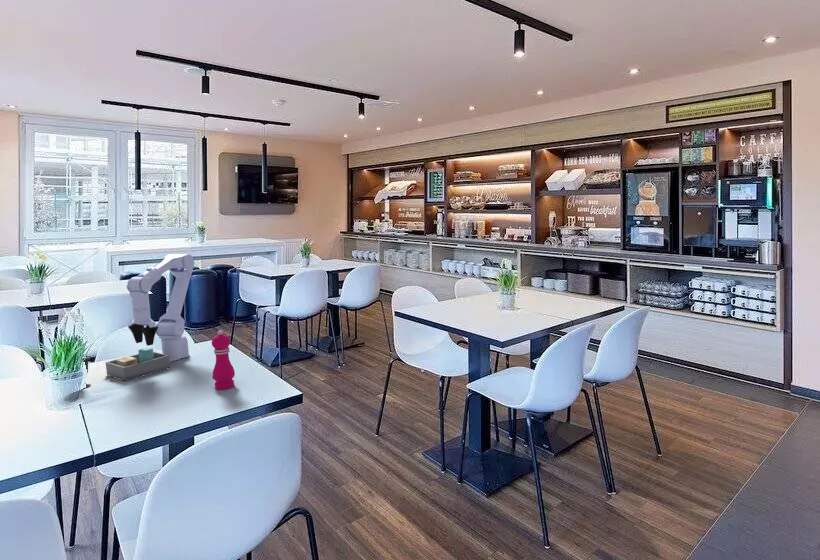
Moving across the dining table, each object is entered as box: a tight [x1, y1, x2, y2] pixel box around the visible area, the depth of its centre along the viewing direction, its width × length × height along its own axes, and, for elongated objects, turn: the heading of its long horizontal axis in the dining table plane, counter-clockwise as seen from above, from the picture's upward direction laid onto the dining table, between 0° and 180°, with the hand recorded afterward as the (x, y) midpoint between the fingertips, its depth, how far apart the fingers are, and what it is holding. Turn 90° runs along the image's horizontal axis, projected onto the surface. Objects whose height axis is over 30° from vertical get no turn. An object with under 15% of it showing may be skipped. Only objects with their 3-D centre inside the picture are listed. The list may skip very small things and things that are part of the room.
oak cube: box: [117, 356, 138, 367], centre depth 191 cm, size 5×5×5 cm
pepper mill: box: [211, 329, 236, 391], centre depth 175 cm, size 7×7×20 cm
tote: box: [105, 351, 171, 382], centre depth 195 cm, size 17×13×5 cm
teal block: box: [138, 347, 154, 363], centre depth 196 cm, size 5×5×7 cm
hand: (144, 343), depth 195 cm, fingers open, 7 cm apart
